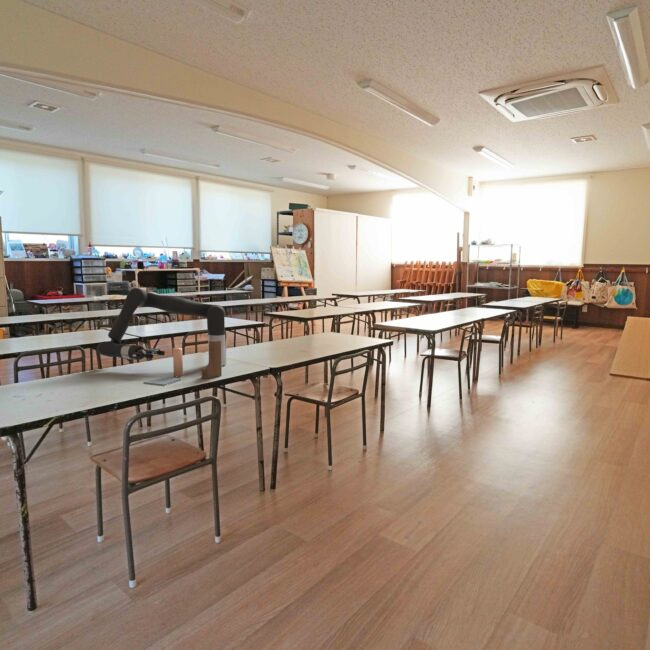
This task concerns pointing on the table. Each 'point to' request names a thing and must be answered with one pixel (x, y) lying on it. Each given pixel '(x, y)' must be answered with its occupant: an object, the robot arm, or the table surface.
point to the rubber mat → (161, 380)
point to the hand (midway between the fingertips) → (158, 354)
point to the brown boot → (213, 360)
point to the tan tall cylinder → (177, 362)
